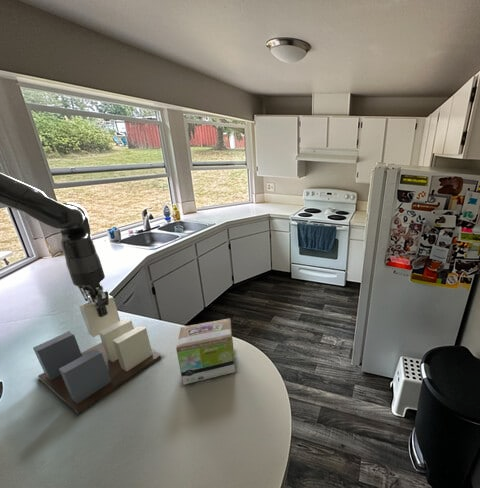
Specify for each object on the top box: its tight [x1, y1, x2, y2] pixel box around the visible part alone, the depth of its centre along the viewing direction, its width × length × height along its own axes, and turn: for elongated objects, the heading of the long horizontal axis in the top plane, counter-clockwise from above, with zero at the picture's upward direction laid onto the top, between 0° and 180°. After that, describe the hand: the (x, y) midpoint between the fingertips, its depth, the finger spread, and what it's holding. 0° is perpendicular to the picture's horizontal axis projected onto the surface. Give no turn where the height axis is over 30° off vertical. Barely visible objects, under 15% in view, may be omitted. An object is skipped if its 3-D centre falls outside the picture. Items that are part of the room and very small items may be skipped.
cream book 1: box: [78, 294, 121, 338], centre depth 84 cm, size 8×3×11 cm, turn 154°
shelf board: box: [37, 342, 162, 415], centre depth 80 cm, size 22×24×1 cm
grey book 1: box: [32, 331, 82, 380], centre depth 76 cm, size 8×3×11 cm, turn 154°
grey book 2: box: [59, 349, 111, 404], centre depth 70 cm, size 8×3×11 cm, turn 154°
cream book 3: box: [112, 325, 153, 372], centre depth 80 cm, size 8×3×11 cm, turn 154°
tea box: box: [175, 318, 236, 386], centre depth 79 cm, size 15×10×15 cm, turn 111°
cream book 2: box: [98, 317, 135, 362], centre depth 83 cm, size 8×3×11 cm, turn 154°
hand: (100, 313), depth 84 cm, fingers closed on cream book 1, 3 cm apart
